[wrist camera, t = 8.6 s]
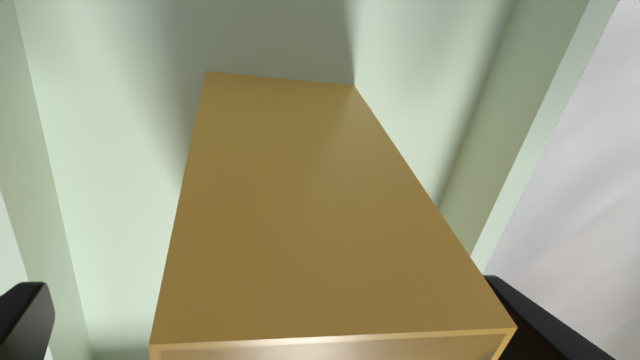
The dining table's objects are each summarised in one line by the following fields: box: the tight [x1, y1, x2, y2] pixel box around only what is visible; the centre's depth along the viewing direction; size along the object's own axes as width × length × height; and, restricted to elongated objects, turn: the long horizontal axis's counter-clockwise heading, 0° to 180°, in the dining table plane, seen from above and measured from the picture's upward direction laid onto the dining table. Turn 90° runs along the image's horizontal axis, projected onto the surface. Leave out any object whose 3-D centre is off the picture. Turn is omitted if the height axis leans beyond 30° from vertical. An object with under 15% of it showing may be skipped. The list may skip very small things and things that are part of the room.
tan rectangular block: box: [149, 71, 518, 360], centre depth 9 cm, size 4×6×8 cm, turn 171°
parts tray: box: [0, 0, 619, 360], centre depth 12 cm, size 13×20×3 cm, turn 171°
